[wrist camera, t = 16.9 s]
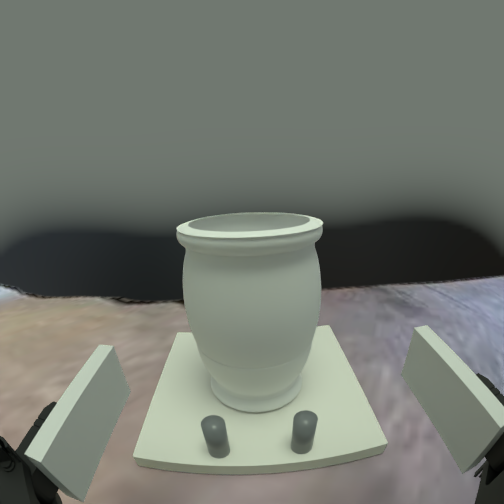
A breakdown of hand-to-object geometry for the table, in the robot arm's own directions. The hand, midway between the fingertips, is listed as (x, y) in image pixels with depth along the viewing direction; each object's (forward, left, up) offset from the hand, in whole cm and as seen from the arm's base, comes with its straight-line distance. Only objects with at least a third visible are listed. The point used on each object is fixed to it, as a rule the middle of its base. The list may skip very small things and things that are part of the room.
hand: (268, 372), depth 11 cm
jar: (0, -11, -11) cm, 15 cm away
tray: (0, -11, -12) cm, 16 cm away
